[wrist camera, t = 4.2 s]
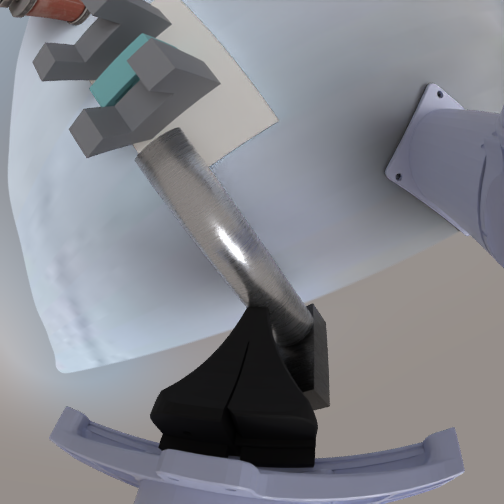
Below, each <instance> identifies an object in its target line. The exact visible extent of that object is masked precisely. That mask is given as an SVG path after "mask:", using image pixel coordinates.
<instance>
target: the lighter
mask: <svg viewBox="0 0 504 504" xmlns="http://www.w3.org/2000/svg"><path fill="white" fill-rule="evenodd" d="M0 7H6V8H8V7H9V10H10V12H11V14H12V16H13V17H24V16H25V15H27V16H36V17H44V18H52V19H58V20H64V21H67V22H68V23H69V24H74V25H78V24H81V23H82V22H84V21H85V20H86V19H87V18H88V17H89V16H90V14H91V13H90V12H89V10H88V9H87V8H86V6H85V5H84V4H83V2H82V1H81V0H0Z"/></svg>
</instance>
